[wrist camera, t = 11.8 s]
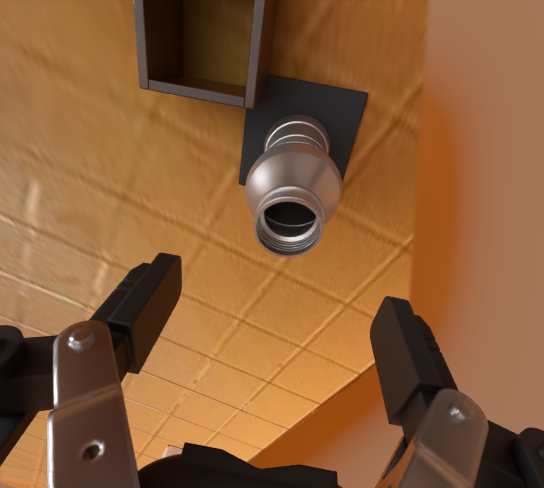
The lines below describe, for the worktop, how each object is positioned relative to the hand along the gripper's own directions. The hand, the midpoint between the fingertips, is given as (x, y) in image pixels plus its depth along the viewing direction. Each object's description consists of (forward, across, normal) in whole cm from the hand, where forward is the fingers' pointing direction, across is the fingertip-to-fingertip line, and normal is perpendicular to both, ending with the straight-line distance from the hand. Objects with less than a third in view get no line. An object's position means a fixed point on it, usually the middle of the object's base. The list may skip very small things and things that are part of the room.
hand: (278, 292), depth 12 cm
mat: (+25, 0, 0) cm, 25 cm away
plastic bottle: (+25, 0, 0) cm, 25 cm away
